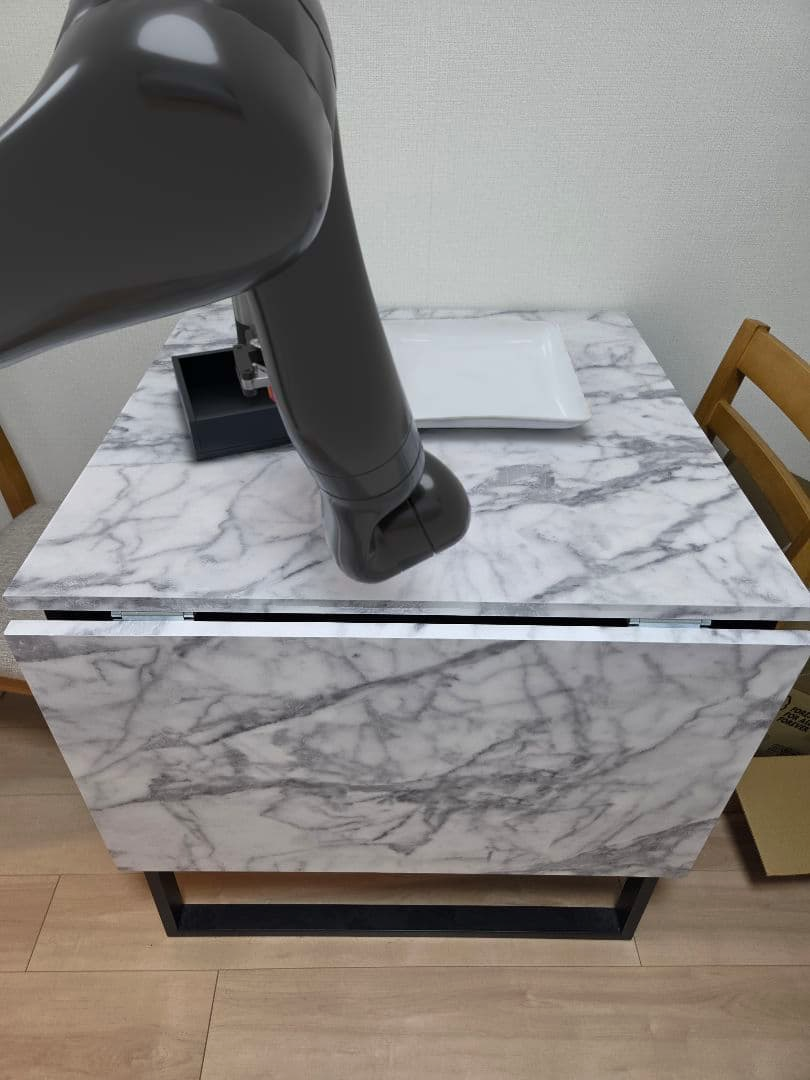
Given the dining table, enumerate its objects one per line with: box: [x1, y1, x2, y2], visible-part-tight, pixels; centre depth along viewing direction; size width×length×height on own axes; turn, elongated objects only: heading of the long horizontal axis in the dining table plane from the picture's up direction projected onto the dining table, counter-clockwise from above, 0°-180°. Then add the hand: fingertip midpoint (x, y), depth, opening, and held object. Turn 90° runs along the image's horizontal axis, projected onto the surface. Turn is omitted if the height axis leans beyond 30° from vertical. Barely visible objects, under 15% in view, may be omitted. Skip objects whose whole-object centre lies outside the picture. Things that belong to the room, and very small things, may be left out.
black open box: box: [170, 345, 293, 462], centre depth 95 cm, size 17×17×6 cm
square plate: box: [381, 318, 593, 429], centre depth 101 cm, size 27×27×4 cm
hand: (290, 327), depth 77 cm, fingers closed on soda can, 7 cm apart
